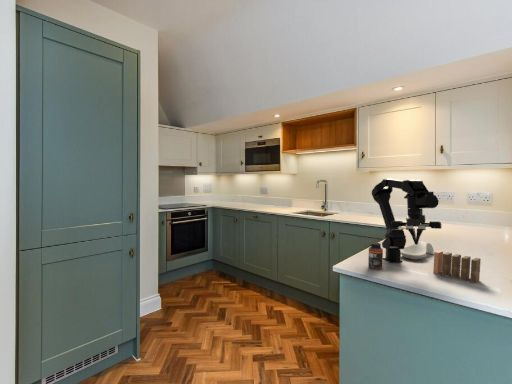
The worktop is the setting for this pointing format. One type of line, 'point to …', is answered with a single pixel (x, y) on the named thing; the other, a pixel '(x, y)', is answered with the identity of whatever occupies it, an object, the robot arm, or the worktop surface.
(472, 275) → the walnut domino
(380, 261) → the supplement bottle
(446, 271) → the walnut domino
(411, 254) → the spoon rest
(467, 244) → the worktop surface
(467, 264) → the walnut domino
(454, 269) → the walnut domino
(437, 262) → the terracotta domino
